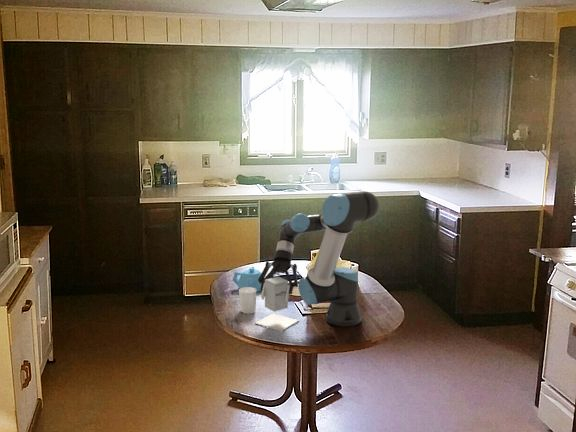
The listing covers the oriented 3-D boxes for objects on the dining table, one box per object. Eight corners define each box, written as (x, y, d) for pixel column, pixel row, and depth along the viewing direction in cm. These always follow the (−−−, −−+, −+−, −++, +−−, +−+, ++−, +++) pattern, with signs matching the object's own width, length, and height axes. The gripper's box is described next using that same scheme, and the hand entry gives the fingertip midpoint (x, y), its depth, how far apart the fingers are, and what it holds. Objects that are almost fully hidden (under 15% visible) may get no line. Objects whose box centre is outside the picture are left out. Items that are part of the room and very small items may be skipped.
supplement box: (274, 312, 260) (274, 283, 258) (264, 307, 266) (264, 279, 263) (288, 308, 265) (288, 280, 262) (278, 303, 271) (278, 275, 268)
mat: (298, 321, 268) (299, 320, 268) (281, 331, 257) (281, 330, 257) (272, 314, 275) (272, 313, 275) (255, 324, 265) (254, 322, 265)
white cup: (254, 314, 276) (253, 293, 273) (237, 313, 277) (236, 292, 275) (258, 308, 283) (258, 287, 281) (241, 307, 285) (241, 286, 282)
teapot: (254, 281, 320) (253, 261, 317) (273, 289, 309) (273, 268, 307) (230, 288, 309) (230, 268, 307) (250, 296, 299) (249, 275, 296)
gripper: (310, 259, 273) (301, 305, 262) (261, 255, 279) (250, 300, 267) (307, 250, 267) (299, 297, 256) (257, 247, 272) (247, 293, 261)
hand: (274, 299), depth 261 cm, fingers closed on supplement box, 10 cm apart
